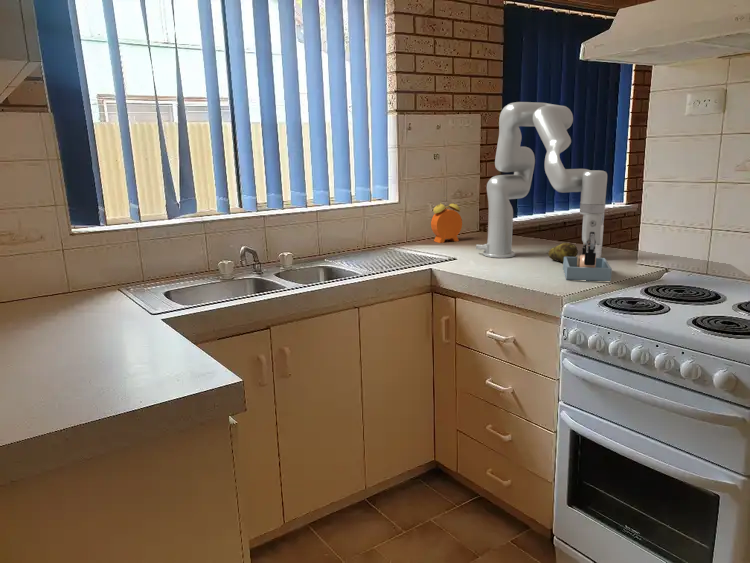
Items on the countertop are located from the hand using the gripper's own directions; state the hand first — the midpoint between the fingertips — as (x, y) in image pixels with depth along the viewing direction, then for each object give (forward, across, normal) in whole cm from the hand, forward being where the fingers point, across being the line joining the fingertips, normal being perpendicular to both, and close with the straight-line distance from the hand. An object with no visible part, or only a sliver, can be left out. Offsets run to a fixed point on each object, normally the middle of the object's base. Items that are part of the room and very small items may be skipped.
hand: (588, 262), depth 190 cm
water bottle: (+6, +34, -5) cm, 35 cm away
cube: (+5, +8, 0) cm, 9 cm away
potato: (+6, +24, +6) cm, 26 cm away
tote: (+5, +4, 0) cm, 7 cm away
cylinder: (+5, 0, 0) cm, 5 cm away
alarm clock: (+6, +63, +55) cm, 84 cm away
